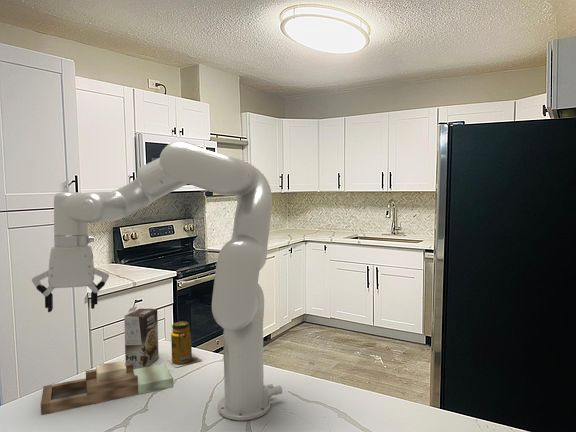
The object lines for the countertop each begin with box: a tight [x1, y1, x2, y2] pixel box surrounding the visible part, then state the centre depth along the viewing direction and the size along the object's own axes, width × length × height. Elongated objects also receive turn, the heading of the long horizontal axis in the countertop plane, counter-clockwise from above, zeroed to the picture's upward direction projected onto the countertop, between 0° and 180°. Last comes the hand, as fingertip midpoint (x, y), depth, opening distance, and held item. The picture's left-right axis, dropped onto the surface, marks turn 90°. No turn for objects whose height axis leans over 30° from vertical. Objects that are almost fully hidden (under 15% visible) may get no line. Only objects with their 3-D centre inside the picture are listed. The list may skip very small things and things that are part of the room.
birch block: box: [95, 360, 127, 383], centre depth 114 cm, size 7×6×4 cm
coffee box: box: [123, 308, 160, 369], centre depth 131 cm, size 9×6×16 cm
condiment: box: [167, 320, 202, 368], centre depth 133 cm, size 7×8×12 cm
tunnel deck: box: [40, 363, 174, 416], centre depth 113 cm, size 31×11×4 cm, turn 117°
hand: (72, 309), depth 108 cm, fingers open, 9 cm apart
